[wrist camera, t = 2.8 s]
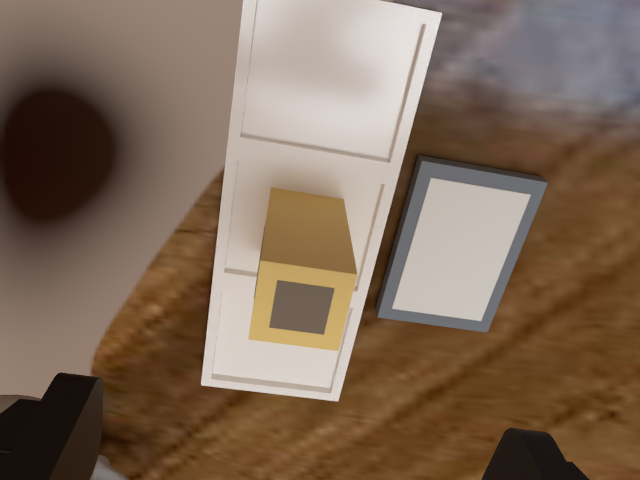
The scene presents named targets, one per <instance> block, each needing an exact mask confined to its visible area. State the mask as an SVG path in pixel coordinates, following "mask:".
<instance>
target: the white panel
mask: <svg viewBox="0 0 640 480" xmlns="http://www.w3.org/2000/svg"><path fill="white" fill-rule="evenodd" d="M254 293H255V286H252V285H245V284H237V283H230V282H223V281H216V280H212V289H211V298H210V307H209V316H208V325H207V334H206V343H205V352H204V362H203V371H202V380H201V385H204V386H212V387H221V388H229V389H237V390H246V391H254V392H263V393H271V394H280V395H288V396H297V397H305V398H314V399H322V400H331V401H338V400H339V397H340V393H341V389H342V385H343V382H344V378H345V374H346V370H347V367H348V363H349V359H350V355H351V352H352V348H353V344H354V341H355V337H356V333H357V329H358V326H359V322H360V318H361V314H362V311H363V307H364V303H365V301H359V300H351V302H350V306H349V310H348V314H347V318H346V322H345V326H344V330H343V334H342V338H341V342H340V346H339V350H338V351H334V350H326V349H318V348H310V347H303V346H295V345H287V344H279V343H272V342H264V341H256V340H248V338H249V331H250V324H251V317H252V311H253V304H254Z"/></svg>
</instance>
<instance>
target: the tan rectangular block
mask: <svg viewBox="0 0 640 480" xmlns="http://www.w3.org/2000/svg"><path fill="white" fill-rule="evenodd" d="M357 275H358V274H357V269H356V263H355V258H354V253H353V247H352V242H351V236H350V231H349V225H348V220H347V214H346V209H345V203H344V199H339V198H333V197H327V196H321V195H315V194H308V193H302V192H296V191H290V190H284V189H277V188H271V191H270V197H269V204H268V210H267V217H266V223H265V227H264V234H263V240H262V247H261V253H260V260H259V266H258V273H257V280H256V286H255V293H254V304H253V311H252V317H251V324H250V331H249V338H248V340H256V341H264V342H272V343H279V344H287V345H295V346H303V347H310V348H318V349H326V350H334V351H338V350H339V346H340V342H341V338H342V334H343V330H344V326H345V322H346V318H347V314H348V310H349V306H350V302H351V298H352V295H353V291H354V287H355V283H356V279H357Z"/></svg>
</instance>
